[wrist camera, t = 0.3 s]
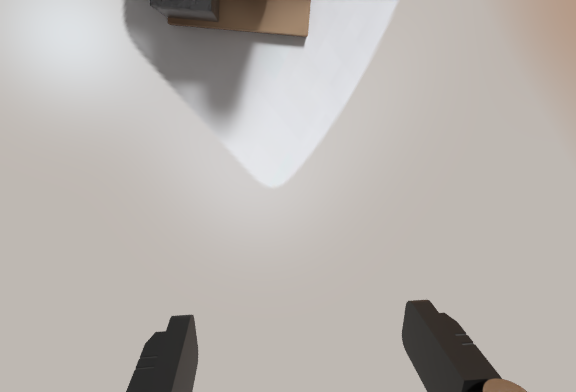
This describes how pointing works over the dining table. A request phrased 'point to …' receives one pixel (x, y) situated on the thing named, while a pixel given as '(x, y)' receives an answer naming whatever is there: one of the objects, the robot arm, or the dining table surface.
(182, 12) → the block
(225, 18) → the base board
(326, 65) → the dining table surface
